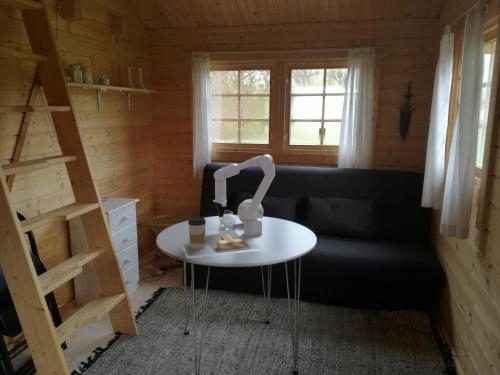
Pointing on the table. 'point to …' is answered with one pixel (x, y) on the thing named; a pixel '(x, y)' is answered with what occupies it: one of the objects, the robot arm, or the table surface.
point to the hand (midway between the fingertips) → (220, 216)
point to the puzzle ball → (244, 206)
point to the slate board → (214, 238)
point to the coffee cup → (197, 232)
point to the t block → (229, 242)
